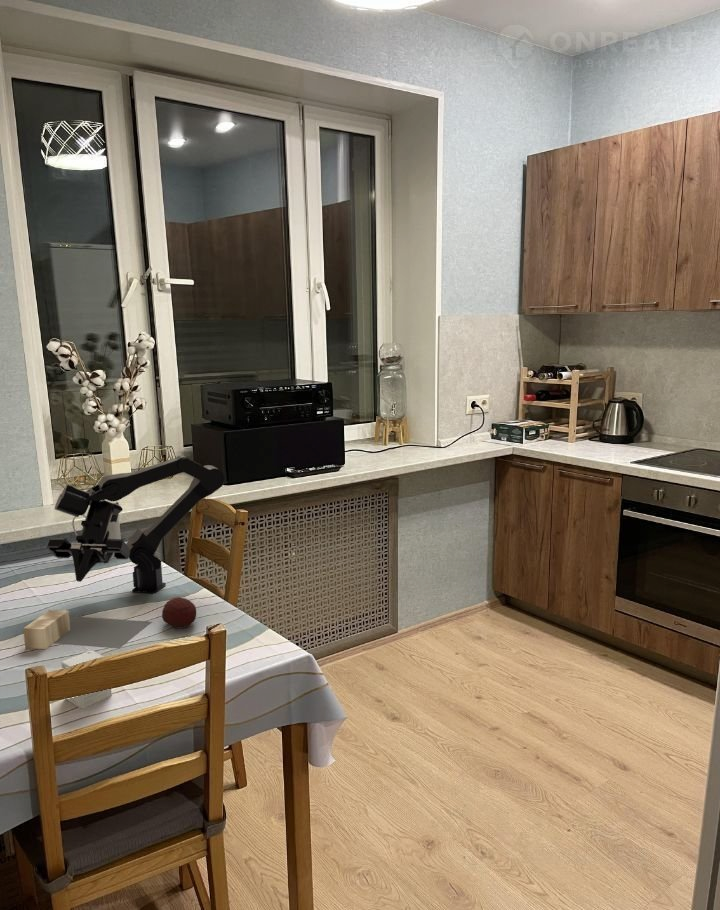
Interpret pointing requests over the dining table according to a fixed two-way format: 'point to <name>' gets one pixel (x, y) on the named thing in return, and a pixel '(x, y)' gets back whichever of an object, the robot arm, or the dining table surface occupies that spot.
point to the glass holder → (113, 527)
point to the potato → (179, 612)
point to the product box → (89, 698)
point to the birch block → (46, 629)
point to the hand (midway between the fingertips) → (78, 581)
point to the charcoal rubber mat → (101, 631)
